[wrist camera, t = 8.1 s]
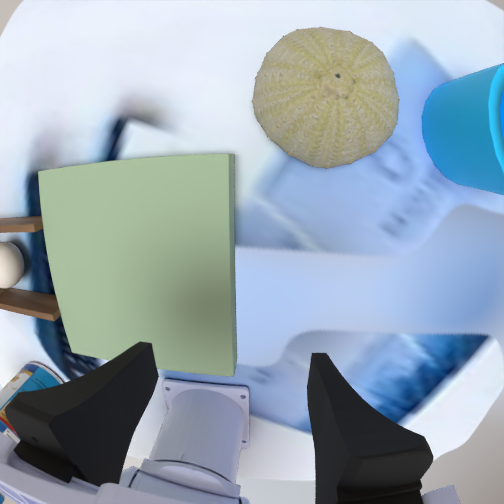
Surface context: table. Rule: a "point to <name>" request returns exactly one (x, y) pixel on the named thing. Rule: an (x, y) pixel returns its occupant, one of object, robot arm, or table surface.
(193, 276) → the green
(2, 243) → the ball
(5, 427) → the beverage bottle
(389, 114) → the sea urchin shell
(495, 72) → the mug
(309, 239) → the table surface
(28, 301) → the open wooden cubby
